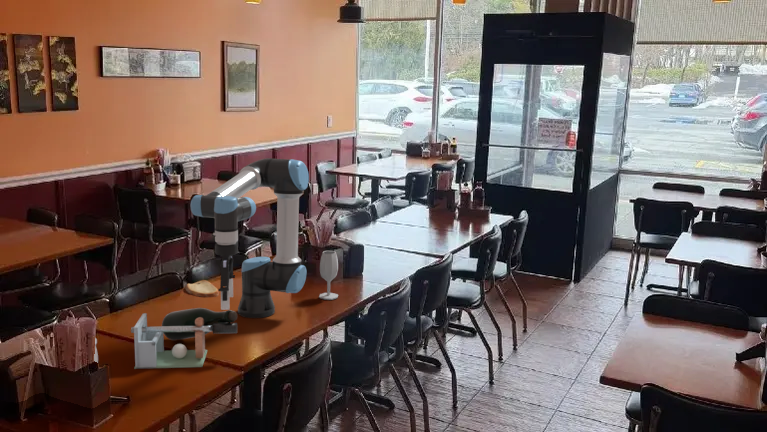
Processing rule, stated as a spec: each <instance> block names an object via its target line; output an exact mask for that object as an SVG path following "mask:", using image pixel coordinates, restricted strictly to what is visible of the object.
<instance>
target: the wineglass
mask: <svg viewBox="0 0 767 432" xmlns="http://www.w3.org/2000/svg"><path fill="white" fill-rule="evenodd" d="M338 261H339V260H338V255H337V252H336V251H335V250H324V251H323V252H322V253H321V257H320V261H319V262H320V263H319V272H320V277H321V278H322V279H323V280H325V281H326V285H327V288H326V289H327V290H326V292H323V293H319V296H318V298H319V299H321V300H325V301H326V300H327V301H332V300H337V299H338V298H339V294H338V293H333V292H331V282H332V281H333V280H335V278H336V277H337V275H338V271H339V262H338Z"/></svg>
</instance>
